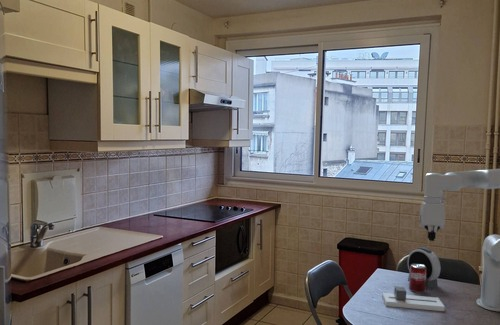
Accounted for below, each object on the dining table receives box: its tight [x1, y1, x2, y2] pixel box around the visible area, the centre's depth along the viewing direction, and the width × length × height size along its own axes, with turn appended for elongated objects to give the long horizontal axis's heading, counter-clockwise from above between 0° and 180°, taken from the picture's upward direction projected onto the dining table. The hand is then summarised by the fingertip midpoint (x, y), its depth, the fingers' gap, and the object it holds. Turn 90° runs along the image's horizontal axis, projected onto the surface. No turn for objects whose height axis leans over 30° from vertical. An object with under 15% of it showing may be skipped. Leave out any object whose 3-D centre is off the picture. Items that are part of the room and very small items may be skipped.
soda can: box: [408, 264, 427, 294], centre depth 199 cm, size 7×7×12 cm
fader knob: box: [393, 286, 407, 300], centre depth 183 cm, size 4×5×4 cm
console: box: [381, 292, 446, 312], centre depth 182 cm, size 24×10×2 cm, turn 80°
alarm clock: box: [406, 246, 442, 289], centre depth 208 cm, size 16×10×18 cm, turn 28°
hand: (431, 240), depth 189 cm, fingers closed
